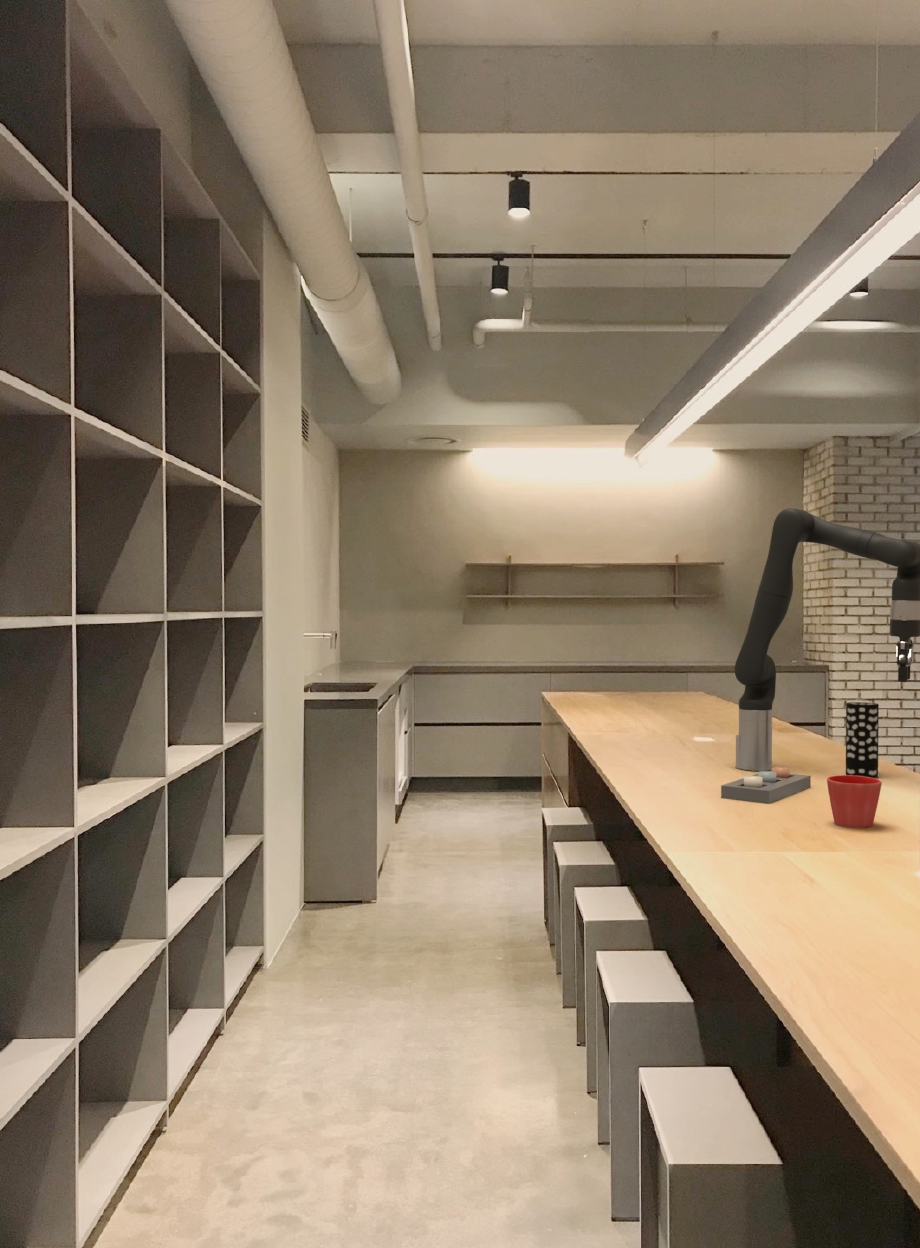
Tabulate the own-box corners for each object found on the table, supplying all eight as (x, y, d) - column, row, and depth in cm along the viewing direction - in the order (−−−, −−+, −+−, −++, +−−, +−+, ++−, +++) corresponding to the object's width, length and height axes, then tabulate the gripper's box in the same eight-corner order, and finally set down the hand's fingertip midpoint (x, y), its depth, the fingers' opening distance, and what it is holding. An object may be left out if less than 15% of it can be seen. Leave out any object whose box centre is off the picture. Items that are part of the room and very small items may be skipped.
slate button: (755, 784, 257) (755, 772, 257) (762, 782, 261) (762, 770, 261) (772, 786, 254) (772, 774, 254) (778, 784, 258) (779, 772, 258)
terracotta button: (768, 779, 264) (769, 768, 264) (775, 777, 268) (775, 766, 268) (785, 781, 262) (785, 770, 261) (792, 779, 265) (792, 767, 265)
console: (721, 797, 250) (721, 785, 250) (765, 782, 272) (765, 771, 272) (769, 803, 243) (769, 791, 243) (810, 787, 265) (810, 775, 265)
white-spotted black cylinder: (845, 777, 280) (845, 704, 280) (846, 773, 288) (846, 701, 287) (878, 779, 277) (878, 705, 276) (878, 775, 284) (878, 702, 284)
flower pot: (882, 831, 213) (882, 784, 213) (826, 827, 217) (826, 781, 217) (880, 821, 223) (880, 776, 223) (826, 817, 227) (827, 773, 227)
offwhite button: (740, 789, 250) (740, 777, 250) (747, 787, 254) (747, 775, 254) (758, 791, 247) (758, 779, 247) (765, 789, 251) (765, 777, 251)
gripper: (892, 617, 274) (891, 678, 275) (887, 618, 262) (885, 681, 262) (923, 618, 271) (921, 679, 271) (919, 618, 258) (917, 683, 259)
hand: (904, 680), depth 267 cm, fingers open, 8 cm apart
